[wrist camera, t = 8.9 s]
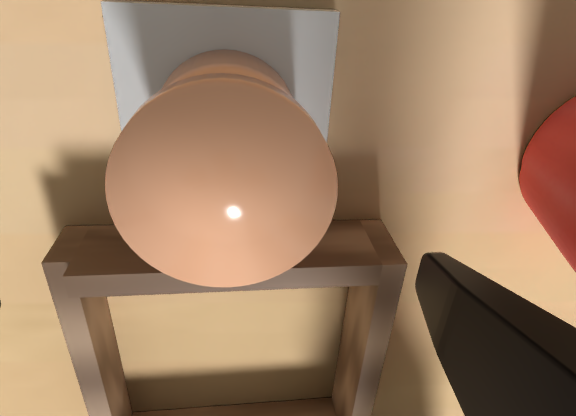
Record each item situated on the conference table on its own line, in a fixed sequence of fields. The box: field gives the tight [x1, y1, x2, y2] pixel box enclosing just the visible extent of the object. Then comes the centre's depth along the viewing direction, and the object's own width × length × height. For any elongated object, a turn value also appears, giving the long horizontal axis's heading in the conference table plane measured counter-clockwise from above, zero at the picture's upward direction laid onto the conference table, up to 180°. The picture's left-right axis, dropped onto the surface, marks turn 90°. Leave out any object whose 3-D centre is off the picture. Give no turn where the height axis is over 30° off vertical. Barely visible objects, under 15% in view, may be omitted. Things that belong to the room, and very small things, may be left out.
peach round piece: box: [105, 49, 338, 287], centre depth 15 cm, size 7×7×7 cm
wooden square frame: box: [42, 220, 407, 416], centre depth 24 cm, size 16×16×4 cm
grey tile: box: [101, 0, 340, 143], centre depth 18 cm, size 9×9×1 cm
